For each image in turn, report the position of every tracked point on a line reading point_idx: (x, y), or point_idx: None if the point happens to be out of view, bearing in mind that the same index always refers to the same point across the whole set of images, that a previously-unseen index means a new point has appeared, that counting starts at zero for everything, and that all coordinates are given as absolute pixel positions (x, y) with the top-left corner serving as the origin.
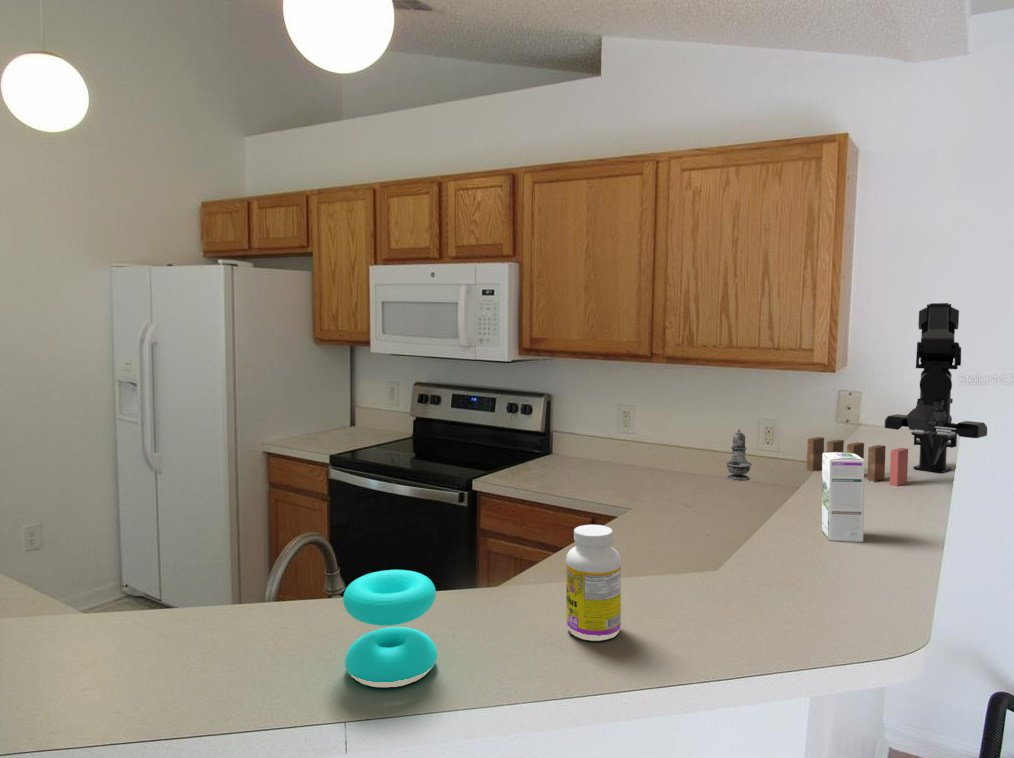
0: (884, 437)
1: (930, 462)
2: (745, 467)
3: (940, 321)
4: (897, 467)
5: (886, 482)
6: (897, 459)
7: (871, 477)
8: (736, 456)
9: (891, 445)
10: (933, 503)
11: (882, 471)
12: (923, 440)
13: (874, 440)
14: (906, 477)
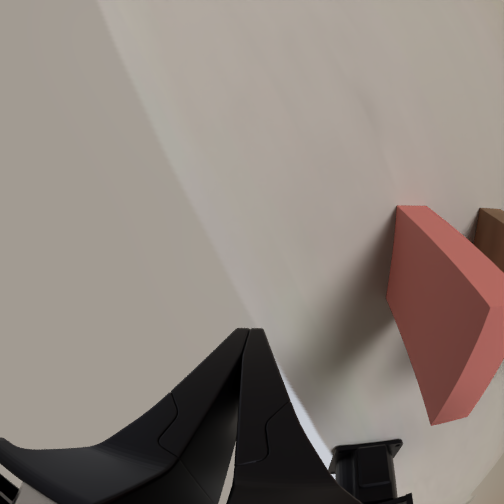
0: (447, 499)
1: (253, 334)
2: None
3: None
4: (436, 243)
5: None
6: (462, 270)
7: (498, 214)
8: None
9: (441, 491)
10: (137, 27)
11: None
12: (287, 482)
13: (460, 489)
14: (393, 307)
